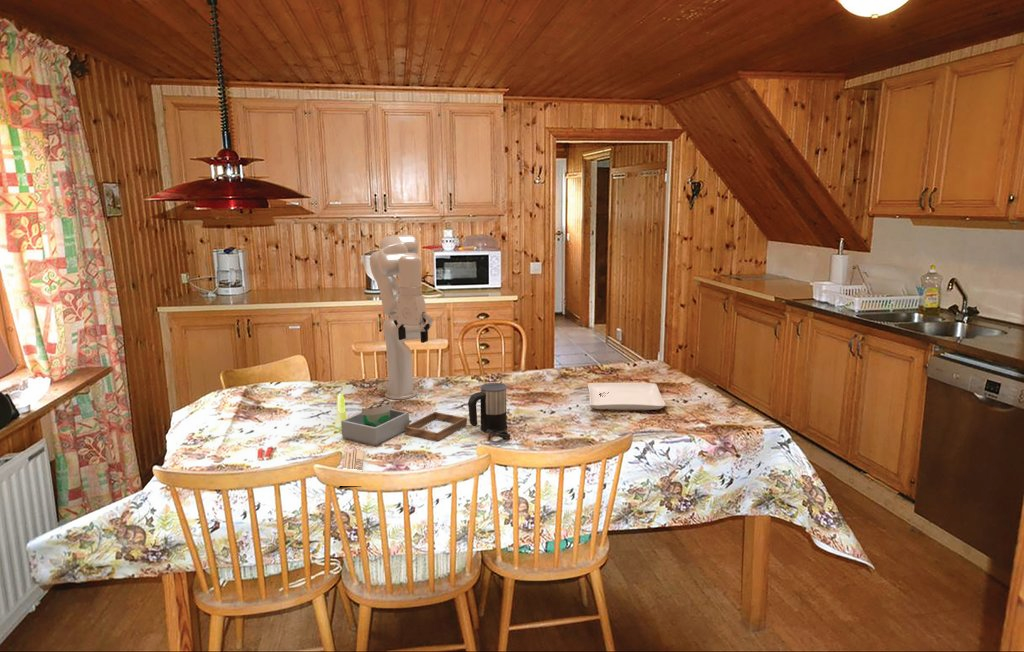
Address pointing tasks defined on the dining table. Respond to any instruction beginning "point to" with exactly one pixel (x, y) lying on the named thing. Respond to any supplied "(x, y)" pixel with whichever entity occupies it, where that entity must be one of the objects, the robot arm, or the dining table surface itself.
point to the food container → (377, 413)
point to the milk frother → (490, 409)
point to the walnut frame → (414, 431)
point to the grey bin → (374, 428)
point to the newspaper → (353, 459)
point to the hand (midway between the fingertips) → (413, 340)
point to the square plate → (625, 396)
